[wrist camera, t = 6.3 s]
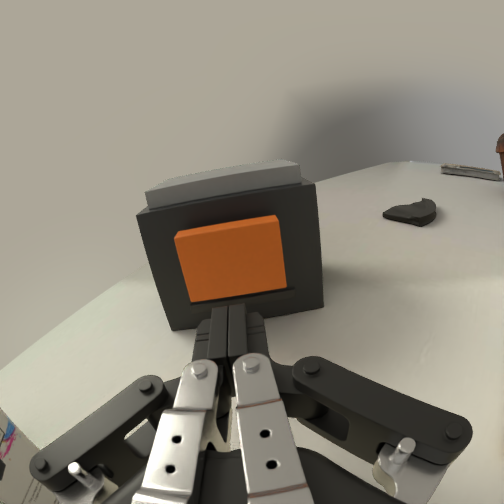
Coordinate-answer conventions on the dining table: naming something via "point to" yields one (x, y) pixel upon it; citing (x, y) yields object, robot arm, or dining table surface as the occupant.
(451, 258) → the dining table surface
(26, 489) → the ink box
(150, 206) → the dark grey box
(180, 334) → the dining table surface
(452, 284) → the dining table surface
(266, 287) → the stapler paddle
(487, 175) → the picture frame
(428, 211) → the dark sector wedge
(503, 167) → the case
